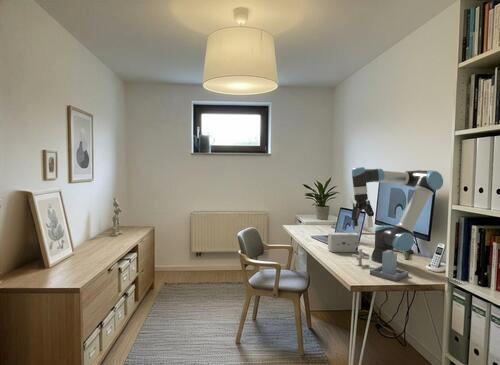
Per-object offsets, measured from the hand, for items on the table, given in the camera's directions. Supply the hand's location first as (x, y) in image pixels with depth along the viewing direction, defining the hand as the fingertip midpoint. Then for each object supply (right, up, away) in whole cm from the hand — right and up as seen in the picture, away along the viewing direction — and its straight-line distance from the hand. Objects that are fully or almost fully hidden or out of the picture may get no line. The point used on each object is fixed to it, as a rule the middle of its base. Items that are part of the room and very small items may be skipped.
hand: (364, 229), depth 197 cm
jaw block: (+11, -24, -9) cm, 28 cm away
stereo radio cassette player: (0, -22, +44) cm, 49 cm away
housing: (+11, -25, -9) cm, 29 cm away
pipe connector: (+1, -24, +11) cm, 26 cm away
